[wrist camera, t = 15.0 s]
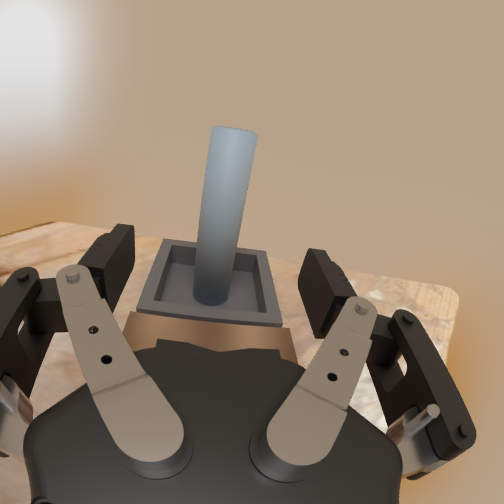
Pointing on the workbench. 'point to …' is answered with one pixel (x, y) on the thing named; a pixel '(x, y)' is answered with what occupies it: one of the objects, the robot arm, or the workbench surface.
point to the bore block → (206, 334)
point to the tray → (186, 307)
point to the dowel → (222, 211)
